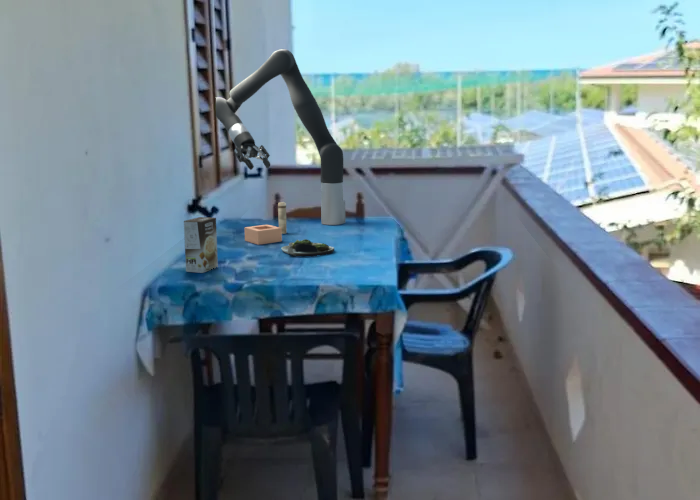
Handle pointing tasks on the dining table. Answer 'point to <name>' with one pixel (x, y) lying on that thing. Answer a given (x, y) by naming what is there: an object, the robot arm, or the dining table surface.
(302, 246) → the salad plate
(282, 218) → the birch peg
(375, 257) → the dining table surface
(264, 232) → the orange square ring
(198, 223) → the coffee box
